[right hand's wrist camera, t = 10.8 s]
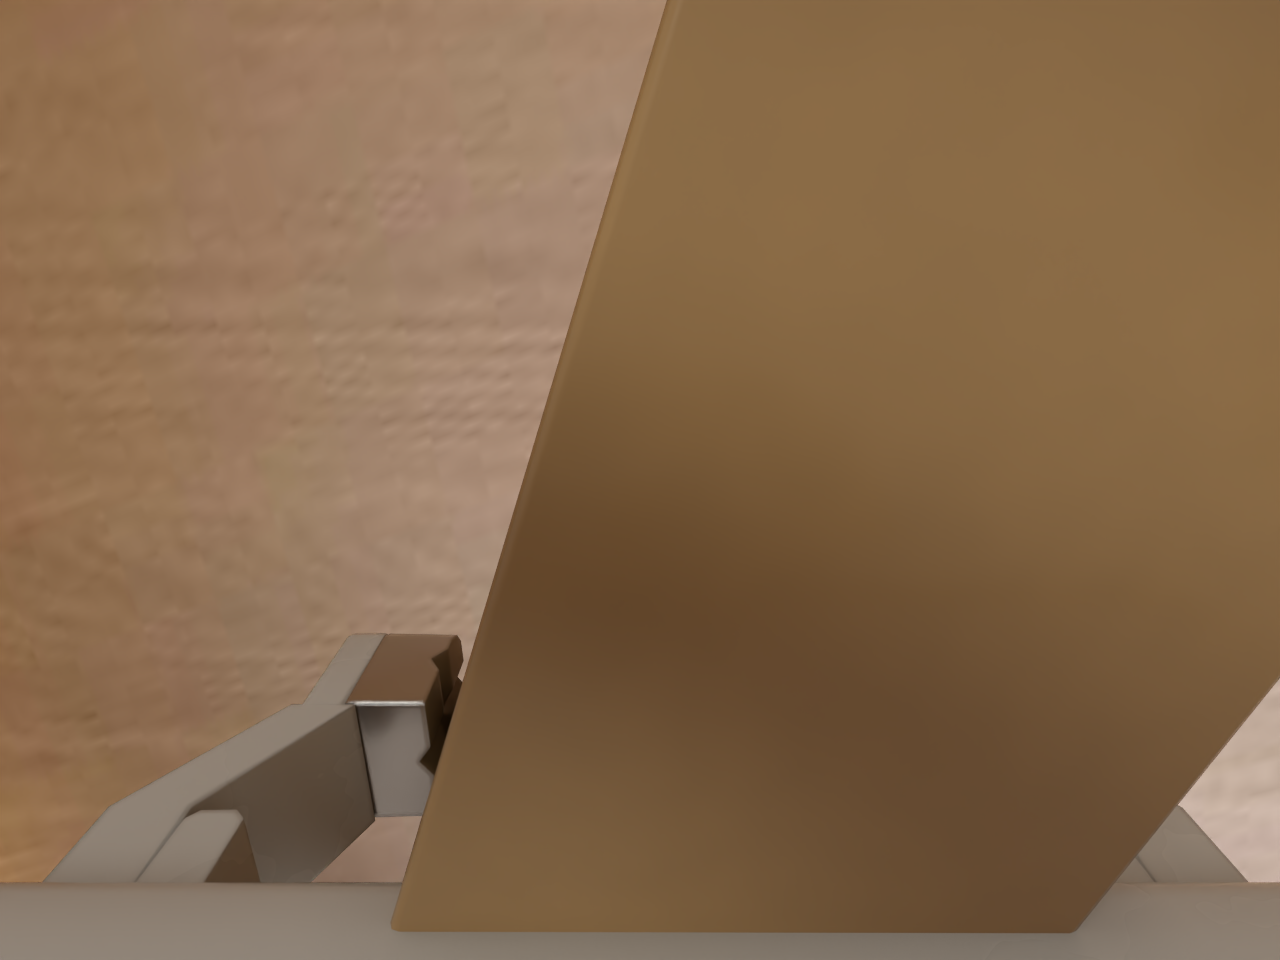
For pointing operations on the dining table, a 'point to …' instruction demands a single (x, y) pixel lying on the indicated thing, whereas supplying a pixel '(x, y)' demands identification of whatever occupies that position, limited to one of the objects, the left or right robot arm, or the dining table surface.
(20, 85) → the dining table surface
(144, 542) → the dining table surface
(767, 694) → the bar
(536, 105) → the dining table surface
